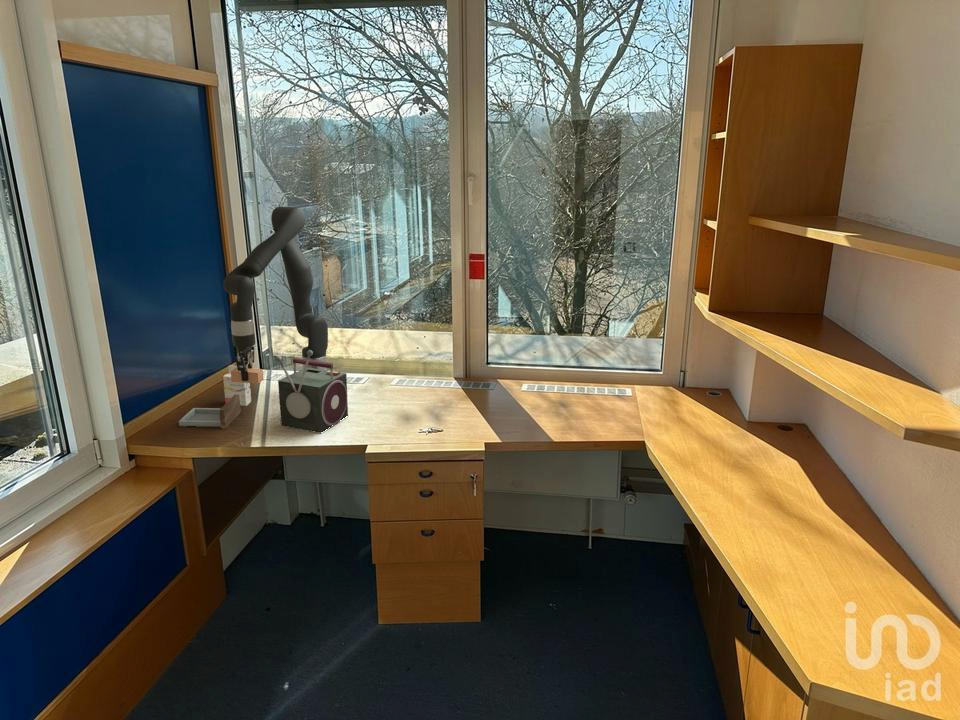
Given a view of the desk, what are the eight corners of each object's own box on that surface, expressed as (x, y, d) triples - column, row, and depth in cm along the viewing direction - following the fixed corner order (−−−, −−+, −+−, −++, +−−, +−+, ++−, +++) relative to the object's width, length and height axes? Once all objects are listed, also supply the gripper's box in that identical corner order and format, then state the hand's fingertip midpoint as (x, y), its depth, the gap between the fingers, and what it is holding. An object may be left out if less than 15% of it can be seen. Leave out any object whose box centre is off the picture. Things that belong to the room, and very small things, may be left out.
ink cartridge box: (224, 405, 253) (221, 368, 249) (230, 400, 258) (227, 364, 254) (246, 406, 253) (243, 369, 248) (252, 401, 257) (249, 365, 253)
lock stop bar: (263, 379, 236) (262, 369, 235) (258, 383, 233) (257, 372, 231) (237, 378, 238) (236, 367, 236) (231, 381, 234) (230, 371, 233)
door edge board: (240, 412, 247) (239, 394, 245) (225, 428, 232) (223, 410, 230) (236, 411, 247) (234, 394, 245) (221, 428, 232) (219, 410, 230)
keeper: (234, 413, 245) (234, 408, 245) (222, 427, 233) (221, 422, 232) (193, 412, 245) (193, 408, 245) (179, 426, 233) (178, 421, 232)
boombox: (351, 415, 246) (348, 338, 237) (319, 436, 228) (314, 352, 219) (310, 408, 252) (305, 332, 244) (275, 427, 234) (269, 346, 225)
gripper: (247, 337, 223) (251, 385, 228) (260, 327, 237) (263, 372, 242) (225, 337, 223) (229, 385, 228) (239, 326, 236) (243, 372, 242)
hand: (247, 378), depth 235 cm, fingers closed on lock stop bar, 4 cm apart
